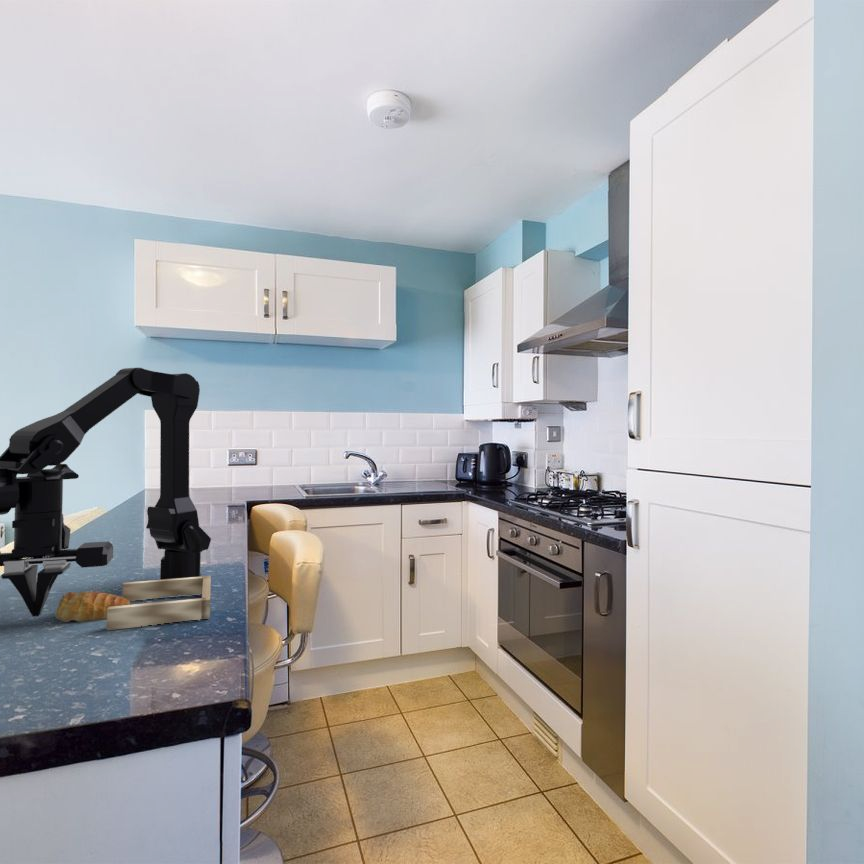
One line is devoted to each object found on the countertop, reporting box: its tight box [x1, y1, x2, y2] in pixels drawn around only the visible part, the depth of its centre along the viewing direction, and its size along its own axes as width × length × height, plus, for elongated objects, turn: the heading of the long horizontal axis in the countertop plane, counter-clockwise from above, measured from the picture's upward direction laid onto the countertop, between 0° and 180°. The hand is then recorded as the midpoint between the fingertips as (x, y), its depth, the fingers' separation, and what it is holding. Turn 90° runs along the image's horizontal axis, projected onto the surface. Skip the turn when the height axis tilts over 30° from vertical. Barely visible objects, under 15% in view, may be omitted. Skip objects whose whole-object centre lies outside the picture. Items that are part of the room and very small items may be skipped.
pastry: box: [54, 590, 131, 623], centre depth 82 cm, size 9×7×4 cm
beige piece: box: [106, 575, 212, 631], centre depth 85 cm, size 14×15×3 cm
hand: (36, 615), depth 78 cm, fingers closed
